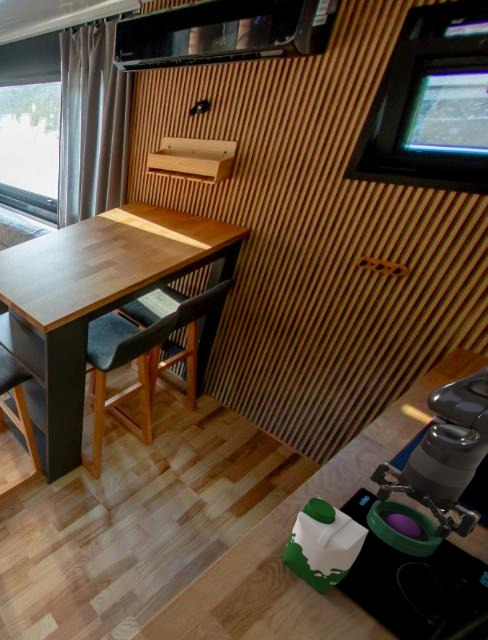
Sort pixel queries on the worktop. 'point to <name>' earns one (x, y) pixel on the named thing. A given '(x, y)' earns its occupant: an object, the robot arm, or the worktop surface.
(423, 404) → the worktop surface
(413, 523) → the ball
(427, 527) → the bowl
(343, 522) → the milk carton
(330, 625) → the worktop surface
